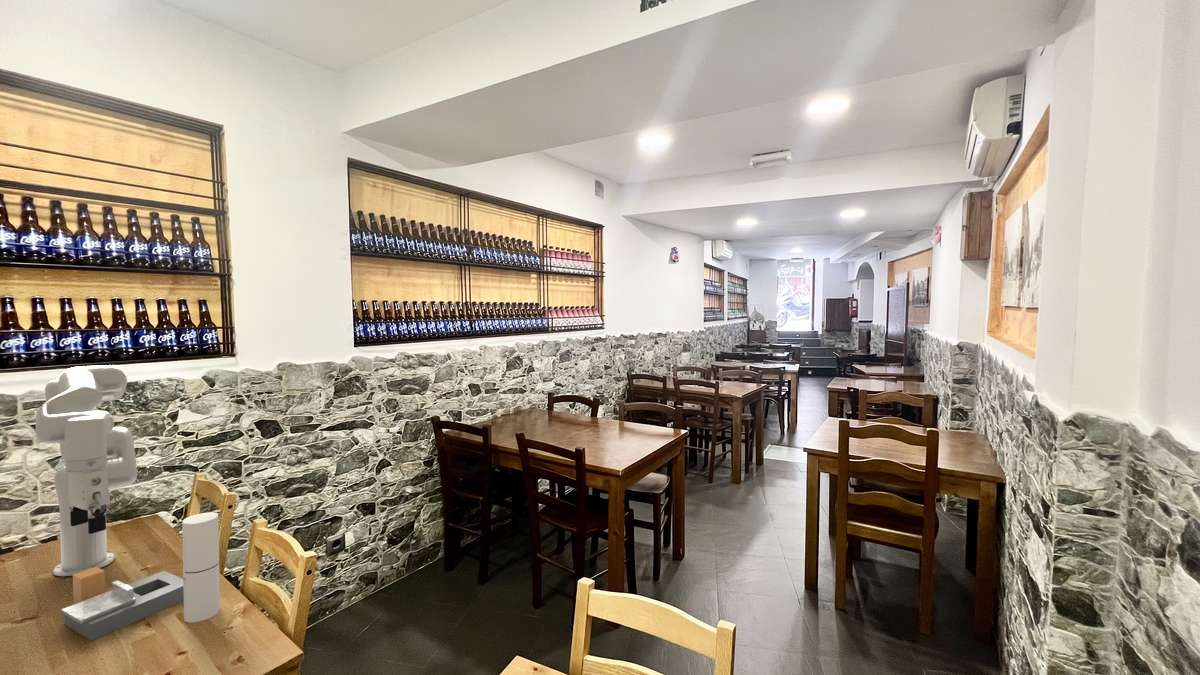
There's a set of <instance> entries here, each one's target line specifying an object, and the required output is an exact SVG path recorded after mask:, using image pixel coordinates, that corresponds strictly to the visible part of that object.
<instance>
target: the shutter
mask: <svg viewBox="0 0 1200 675" xmlns="http://www.w3.org/2000/svg"><path fill="white" fill-rule="evenodd" d="M134 602H136V598H134V592H133V587H131V586H129V585H127V584H126V583H124V582H122V581H120V580H115V581H112V582H111V590H108V591H105V593H103V594H101V595H98V596H95V597H93V598H90V599H87V600H85V601H82V602H80V603H77V604H74V605H73V604H72V605H69V606H67V607H65V608H64V607H63V608H61V614H63V615H64V614H65V615H66V616H68V617H70V618H72V619H73V620H75V621H77V622H78V623H80V624H82V623H85V622H87V621H89V620H92V619H94V618H97V617H99V616H102V615H104V614H107V613H109V612H111V611H114V610H116V609H119V608H121V607H124V606H126V605H129V604H131V603H134Z"/></svg>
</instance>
